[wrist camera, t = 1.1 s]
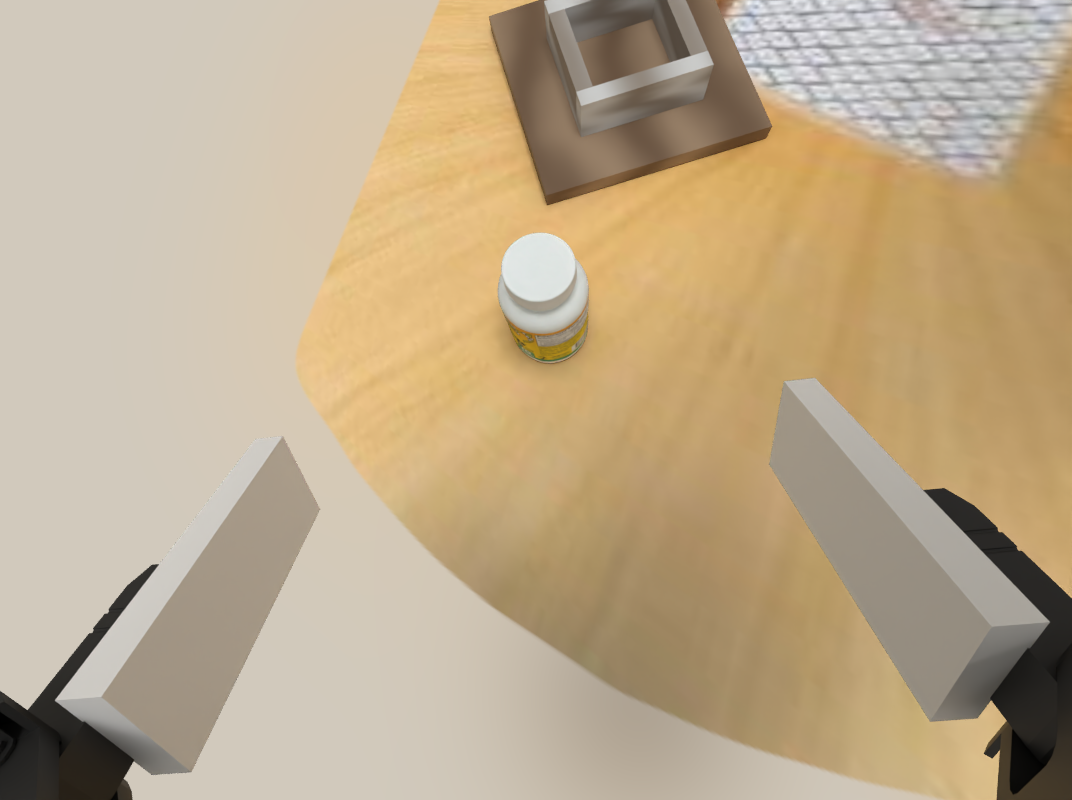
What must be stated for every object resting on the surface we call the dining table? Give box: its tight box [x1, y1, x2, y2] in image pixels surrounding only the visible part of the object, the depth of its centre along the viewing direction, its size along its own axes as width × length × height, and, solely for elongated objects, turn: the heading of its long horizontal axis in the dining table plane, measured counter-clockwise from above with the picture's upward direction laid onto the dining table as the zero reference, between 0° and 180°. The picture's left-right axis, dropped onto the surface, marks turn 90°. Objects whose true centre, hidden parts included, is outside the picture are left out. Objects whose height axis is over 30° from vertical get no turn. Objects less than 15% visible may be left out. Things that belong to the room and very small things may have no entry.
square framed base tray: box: [489, 0, 772, 205], centre depth 37 cm, size 17×17×4 cm
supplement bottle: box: [498, 233, 589, 363], centre depth 31 cm, size 5×5×10 cm
